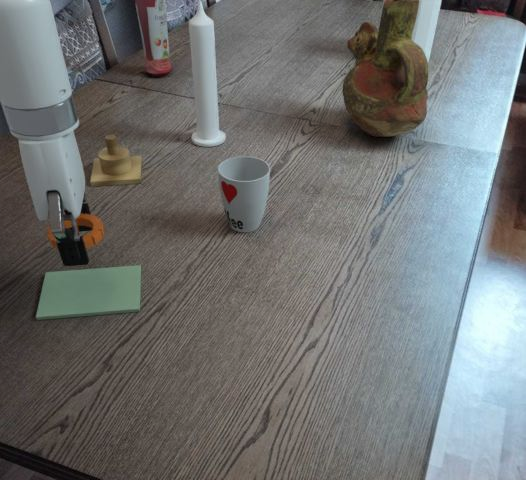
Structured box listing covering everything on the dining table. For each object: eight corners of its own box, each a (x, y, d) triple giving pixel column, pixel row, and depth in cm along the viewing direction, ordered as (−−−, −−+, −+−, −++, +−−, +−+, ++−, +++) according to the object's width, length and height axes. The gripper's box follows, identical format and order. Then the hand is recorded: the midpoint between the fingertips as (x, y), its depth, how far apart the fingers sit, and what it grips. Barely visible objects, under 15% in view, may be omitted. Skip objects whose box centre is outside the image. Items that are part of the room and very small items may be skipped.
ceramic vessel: (373, 99, 129) (392, -28, 111) (447, 145, 113) (483, 5, 95) (310, 113, 123) (319, -18, 105) (378, 163, 107) (403, 18, 89)
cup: (214, 215, 94) (211, 160, 86) (259, 207, 96) (259, 152, 89) (229, 241, 88) (227, 185, 81) (276, 232, 90) (278, 176, 83)
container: (373, 48, 153) (384, -28, 140) (424, 50, 153) (440, -27, 140) (378, 67, 143) (390, -14, 130) (434, 69, 143) (451, -12, 130)
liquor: (161, 81, 135) (144, -58, 115) (138, 75, 138) (118, -62, 118) (179, 72, 140) (166, -64, 120) (157, 66, 142) (140, -68, 122)
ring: (45, 253, 70) (43, 245, 69) (53, 222, 74) (50, 215, 74) (102, 249, 70) (100, 241, 69) (105, 219, 75) (103, 211, 74)
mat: (36, 320, 75) (35, 317, 75) (46, 275, 82) (45, 272, 82) (140, 311, 77) (139, 308, 76) (141, 268, 84) (140, 264, 83)
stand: (91, 186, 100) (82, 150, 95) (95, 163, 106) (87, 127, 101) (141, 183, 101) (135, 147, 96) (142, 160, 107) (136, 124, 102)
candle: (186, 145, 112) (173, 4, 94) (197, 130, 117) (187, -7, 99) (220, 149, 111) (213, 7, 93) (229, 134, 116) (224, -4, 98)
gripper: (20, 85, 66) (59, 213, 79) (-11, 151, 54) (41, 290, 67) (83, 82, 67) (111, 210, 80) (67, 147, 55) (103, 285, 68)
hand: (79, 245), depth 73 cm, fingers closed on ring, 7 cm apart
